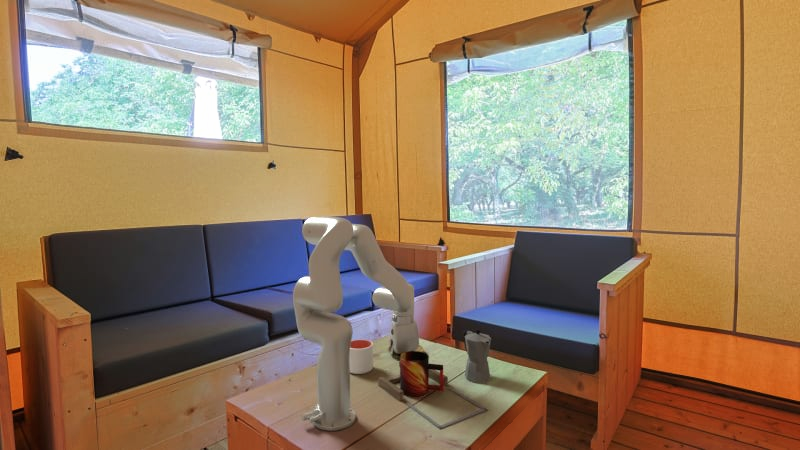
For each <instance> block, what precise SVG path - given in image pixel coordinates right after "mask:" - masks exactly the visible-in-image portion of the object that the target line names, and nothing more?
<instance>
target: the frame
mask: <svg viewBox="0 0 800 450" xmlns="http://www.w3.org/2000/svg"><path fill="white" fill-rule="evenodd" d="M448 390H449V391H451V392H453V393H454V394H455V395H457V396H459V397H461V398H463V399H464V400H466V401H468V402H469V403H471V404H472V405H475V406H476V407H477V408H479V410H476V411H474V412H471V413H469V414H466V415H464V416H462V417H459V418H456V419H453V420H451V421H448V422H446V423H444V424H439V423H438V422H437V421H435V420H433V418H431V417H430V416H427V414H426V413H424V412H422V410H420V409H418V408H417V407H415V406H414V405H413V404H412V403H410V402H406V403H405V405H406V406H408V407H409V408H410V409H412V410H413V411H415V413H417V414H418V415H420V416H421V417H422V418H424V419H425V420H427V422H429V423H431V425H434V427H436V428H438V429H439V430H442V429H444V428H447V427H449V426H452V425H454V424H456V423H460V422H461V421H464V420H466V419H469V418H471V417H475V416H477V415H479V414H481V413H485V412H487V411H488V410H489V409H488V408H487V407H485V406H483V405H481V404H480V403H478V402H476V401H475V400H473V399H471V398H469V396H466V395H464V394H463V393H461V392H459V391H457V390H455V388H452V387H450V388H448Z"/></svg>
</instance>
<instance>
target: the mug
mask: <svg viewBox="0 0 800 450" xmlns="http://www.w3.org/2000/svg"><path fill="white" fill-rule="evenodd" d="M429 357H430V356H429V354H428V353H426V352H424V351H423V352H420V351H408V352H404V353H402V354H401V355H400V367H399V375H400V381H399V383H400V384H399V386H400V387H399V388H400V389H401V390H403V397H407V398H414V399H415V398H423V397H425V396H426V395H427V394H429V392H430V391H433V392H434V391H435V392H444V386H443V381H444V380H443V375H444V364H436V363H430V362H429ZM429 369H431V370H436V371H439V372H440V384H439V385H437V384H429V381H430V380H429V379H430V378H429Z"/></svg>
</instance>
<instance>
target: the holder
mask: <svg viewBox="0 0 800 450" xmlns="http://www.w3.org/2000/svg"><path fill="white" fill-rule="evenodd" d="M429 379H431V380H433V381H434V382H436V383H438V384H439V385H440V371H439V370H431V369H429ZM443 380H444V381H443V387H447V386H448V384H449V383H448V381H449V380H448V376H447V375H445V374H443ZM398 382H399V383H400V374H399V375H396V376H392V377H388V378H385V377H384V376H381V377H380V376H379V377H378V381H377V386H378V387H379V388H381V389H382V390H384V391H385V392H386V393H388V395H390V396H392V397H393V398H394V399H396V400H397V401H398V402H402V401H404V395H403V390H401V389H400V387H399V386H397V385H396V384H395V383H398Z"/></svg>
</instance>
